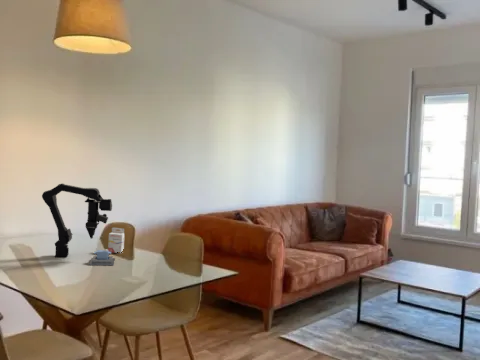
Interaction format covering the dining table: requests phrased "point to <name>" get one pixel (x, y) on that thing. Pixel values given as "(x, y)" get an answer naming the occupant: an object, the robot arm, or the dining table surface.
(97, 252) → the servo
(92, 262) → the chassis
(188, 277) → the dining table surface
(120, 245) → the ink cartridge box
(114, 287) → the dining table surface
